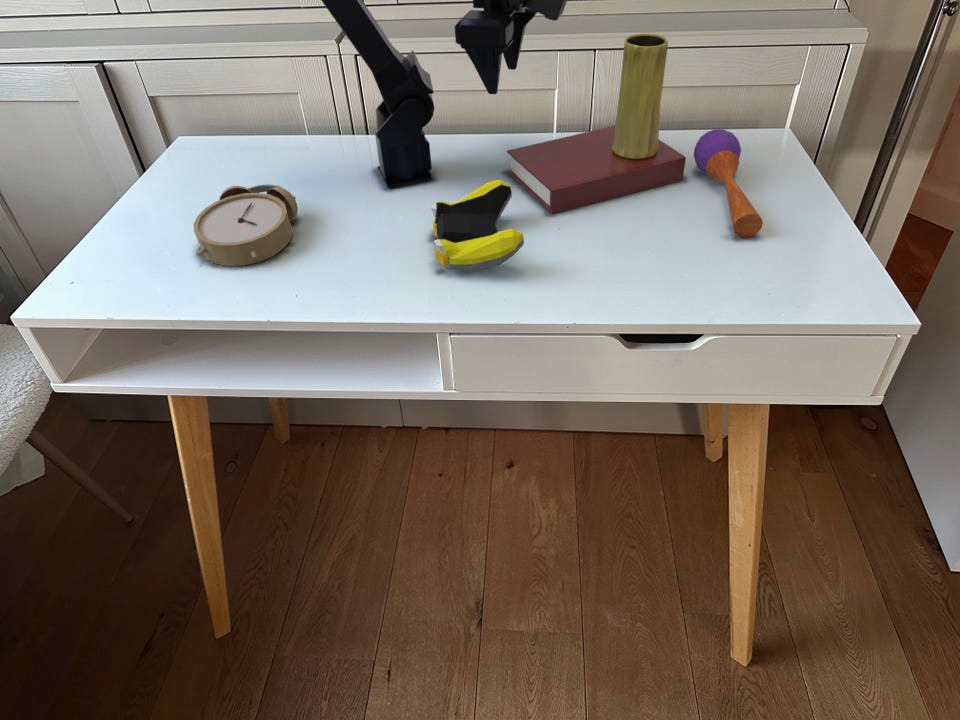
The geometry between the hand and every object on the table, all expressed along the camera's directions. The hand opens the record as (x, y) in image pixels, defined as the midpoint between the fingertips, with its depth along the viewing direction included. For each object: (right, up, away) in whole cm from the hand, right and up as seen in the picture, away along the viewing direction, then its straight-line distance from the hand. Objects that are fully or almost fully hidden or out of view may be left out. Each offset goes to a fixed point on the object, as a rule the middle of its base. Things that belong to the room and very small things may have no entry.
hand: (502, 81), depth 95 cm
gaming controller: (-3, -24, -9) cm, 25 cm away
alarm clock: (-32, -21, -4) cm, 38 cm away
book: (+13, -11, +4) cm, 18 cm away
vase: (+18, -9, +2) cm, 20 cm away
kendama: (+29, -16, -2) cm, 33 cm away
